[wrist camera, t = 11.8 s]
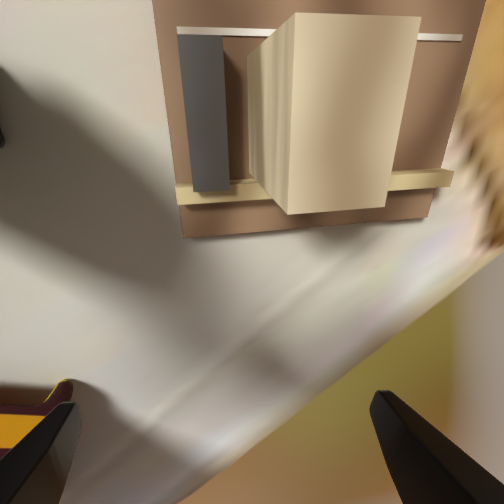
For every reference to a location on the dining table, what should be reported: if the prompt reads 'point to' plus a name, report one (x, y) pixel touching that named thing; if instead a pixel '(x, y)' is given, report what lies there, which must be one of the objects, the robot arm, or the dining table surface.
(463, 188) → the dining table surface
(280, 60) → the cream rectangular block
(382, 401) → the robot arm
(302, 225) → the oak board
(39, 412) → the decorative lantern
